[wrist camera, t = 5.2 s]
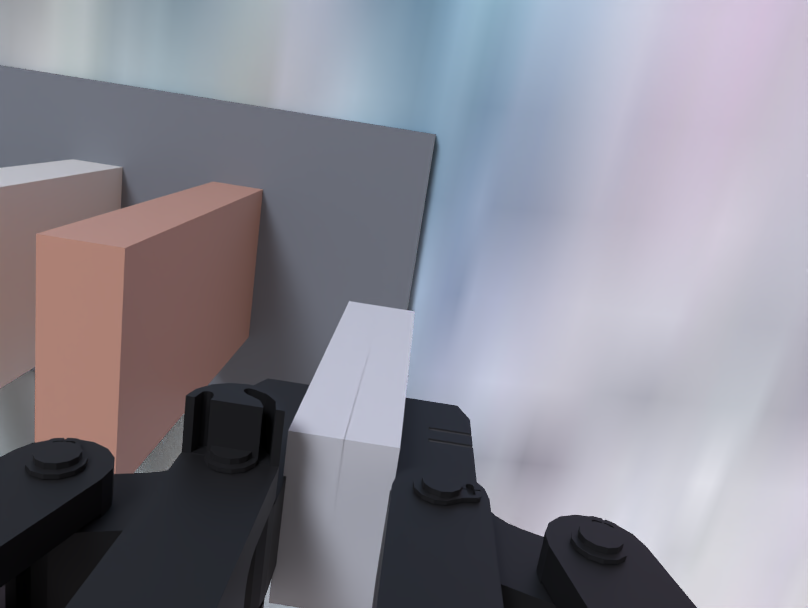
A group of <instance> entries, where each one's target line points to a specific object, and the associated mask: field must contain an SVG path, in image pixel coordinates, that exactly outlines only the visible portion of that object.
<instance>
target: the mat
mask: <svg viewBox="0 0 808 608" xmlns="http://www.w3.org/2000/svg"><path fill="white" fill-rule="evenodd" d="M435 136H436V134H429V133H423V132H417V131H410V130H404V129H398V128H392V127H385V126H379V125H373V124H366V123H360V122H354V121H347V120H341V119H335V118H329V117H322V116H316V115H310V114H303V113H297V112H291V111H284V110H278V109H272V108H266V107H259V106H253V105H247V104H240V103H234V102H228V101H221V100H215V99H209V98H203V97H196V96H190V95H184V94H177V93H171V92H165V91H159V90H152V89H146V88H140V87H133V86H127V85H121V84H114V83H108V82H102V81H96V80H89V79H83V78H77V77H70V76H64V75H58V74H51V73H45V72H39V71H33V70H26V69H20V68H14V67H7V66H1V65H0V168H3V167H12V166H20V165H28V164H37V163H45V162H53V161H62V160H70V159H75V160H81V161H88V162H94V163H100V164H106V165H113V166H119V167H123V168H122V193H121V209H122V208H125V207H128V206H132V205H135V204H139V203H142V202H145V201H149V200H152V199H156V198H159V197H162V196H166V195H169V194H173V193H176V192H179V191H183V190H186V189H190V188H193V187H196V186H200V185H203V184H207V183H210V182H219V183H226V184H232V185H238V186H245V187H251V188H257V189H263V194H262V204H261V215H260V225H259V235H258V246H257V256H256V267H255V277H254V288H253V298H252V308H251V319H250V329H249V337H248V338H247V340H246V341H245V342H244V343H243V344H242V346H241V347H240V348H239V349H238V350H237V351H236V353H235V354H234V355H233V356H232V357H231V359H230V360H229V361H228V362H227V363H226V364H225V366H224V367H223V368H222V369H221V370H220V372H219V373H218V374H217V375H216V376H215V377H214V379H213V380H212V381H211V382H210V383H209V384H208V385H211V384H223V383H238V384H249V385H255V384H257V383H259V382H261V381H263V380H265V379H268V378H269V379H276V380H282V381H288V382H295V383H301V384H307V385H310V383H311V381H312V379H313V377H314V375H315V373H316V371H317V368H318V366H319V364H320V362H321V360H322V358H323V356H324V354H325V351H326V349H327V347H328V345H329V343H330V341H331V339H332V337H333V334H334V332H335V330H336V328H337V326H338V324H339V322H340V320H341V317H342V315H343V313H344V311H345V309H346V307H347V305H348V303H349V301H351V302H358V303H364V304H371V305H377V306H384V307H390V308H396V309H403V310H408V304H409V298H410V292H411V286H412V280H413V273H414V267H415V261H416V255H417V248H418V242H419V236H420V230H421V223H422V217H423V211H424V205H425V199H426V192H427V186H428V180H429V174H430V167H431V161H432V155H433V149H434V143H435ZM30 371H35V367H34V368H32V369H31V370H30Z"/></svg>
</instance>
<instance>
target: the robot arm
mask: <svg viewBox="0 0 808 608" xmlns="http://www.w3.org/2000/svg"><path fill="white" fill-rule="evenodd" d="M414 316H415V311H409V310H403V309H396V308H390V307H384V306H377V305H371V304H364V303H358V302H351V301H349V303H348V305H347V307H346V309H345V311H344V313H343V315H342V317H341V320H340V322H339V324H338V326H337V328H336V330H335V332H334V334H333V337H332V339H331V341H330V343H329V345H328V347H327V349H326V351H325V354H324V356H323V358H322V360H321V362H320V364H319V366H318V368H317V371H316V373H315V375H314V377H313V379H312V381H311V383H310V385H307V384H301V383H295V382H288V381H282V380H276V379H269V378H268V379H265V380H263V381H261V382H259V383H257V384H255V385H249V384H238V383H223V384H211V385H208V386H204V387H201V388H197V389H195V390H193V391H192V392H190V393H189V394H187V395H186V399H185V414H184V429H183V444H182V452H181V454H180V455H179V456H178V458H177V459H176V460H175V462H174V463H173V464H172V466H171V467H170V468H169V470H167V471H162V472H152V473H127V474H114V462H115V457H114V456H113V455H112V453H111V452H110V451H109V449H108V448H106V447H104V446H102V445H99V444H97V443H95V442H91V441H85V440H80V439H77V438H67V439H64V438H53V439H50V440H46V441H41V442H35V443H31V444H29V445H26V446H24V447H21V448H18V449H16V450H13V451H11V452H9V453H8V454H6V455H4V456H2V457H0V608H263V607H264V598H265V595H266V593H267V590H268V587H269V584H270V581H271V588H270V597H269V603H274V604H281V605H287V606H293V607H300V608H697V607H696V606H695V605H694V604H693V602H692V601H691V600H690V599H689V598H688V596H687V595H686V594H685V593H684V592H683V590H682V589H681V588H680V587H679V585H678V584H677V583H676V582H675V581H674V579H673V578H672V577H671V576H670V575H669V573H668V572H667V571H666V570H665V569H664V567H663V566H662V565H661V564H660V563H659V561H658V560H657V559H656V558H655V557H654V555H653V554H652V553H651V552H650V551H649V549H648V548H647V547H646V546H645V545H644V544H643V543H642V542H641V541H640V540H638V539H637V538H636V537H635V536H634V535H633V534H631V533H630V532H628V531H626V530H624V529H622V528H621V527H619V526H617V525H616V524H615V523H612V522H610V521H607V520H605V521H604V520H602V518H598V517H594V516H590V517H589V516H581V515H570V516H561V517H558V518H557V519H555V520H553V521H551V522H550V523H549V524H548V527H547V529H546V532H545V535H544V537H542V536H539V535H536V534H533V533H531V532H528V531H525V530H522V529H520V528H517V527H515V526H513V525H511V524H508V523H506V522H505V521H503V520H502V519H500V518H498V517H497V516H495V515H494V514H493V513H492V512H491V508H490V501H489V498H488V495H487V493H486V491H485V489H484V488H483V487H482V486H480V485H479V484H478V483H477V481H476V472H475V463H474V454H473V448H472V436H471V427H470V419H469V418H468V417H467V416H466V415H465V414H464V413H463V412H462V411H461V409H460V408H459V407H458V406H455V405H449V404H442V403H436V402H430V401H423V400H417V399H410V398H406V389H407V380H408V371H409V362H410V353H411V344H412V334H413V325H414Z"/></svg>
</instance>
